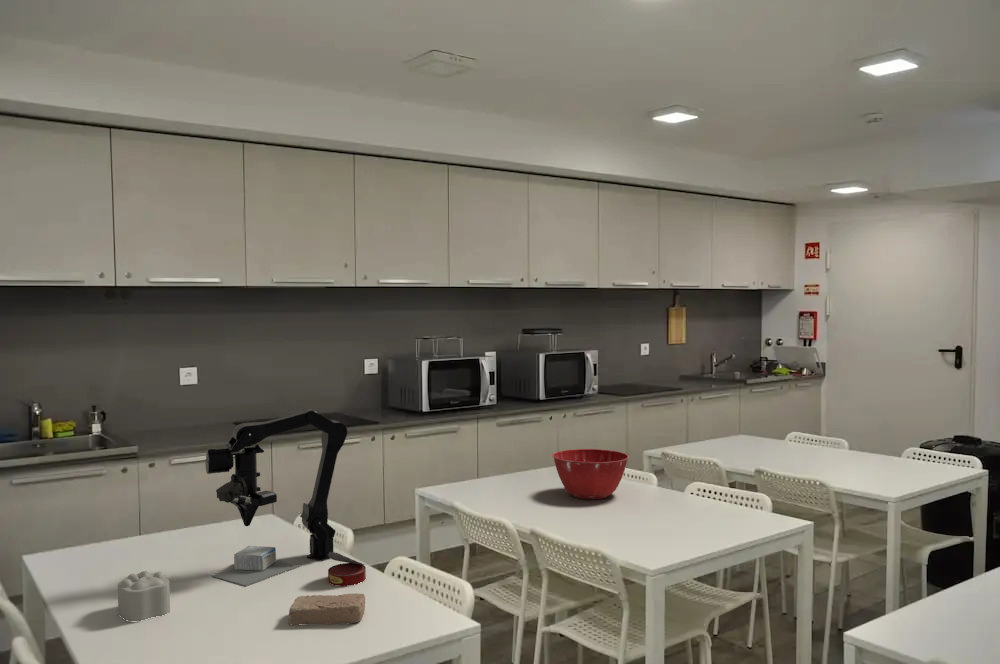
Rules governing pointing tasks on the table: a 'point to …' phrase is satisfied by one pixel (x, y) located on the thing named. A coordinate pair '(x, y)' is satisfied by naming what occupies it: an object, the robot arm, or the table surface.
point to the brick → (327, 609)
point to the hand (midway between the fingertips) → (247, 525)
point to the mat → (254, 574)
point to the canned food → (345, 571)
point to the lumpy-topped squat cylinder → (143, 596)
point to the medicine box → (254, 558)
